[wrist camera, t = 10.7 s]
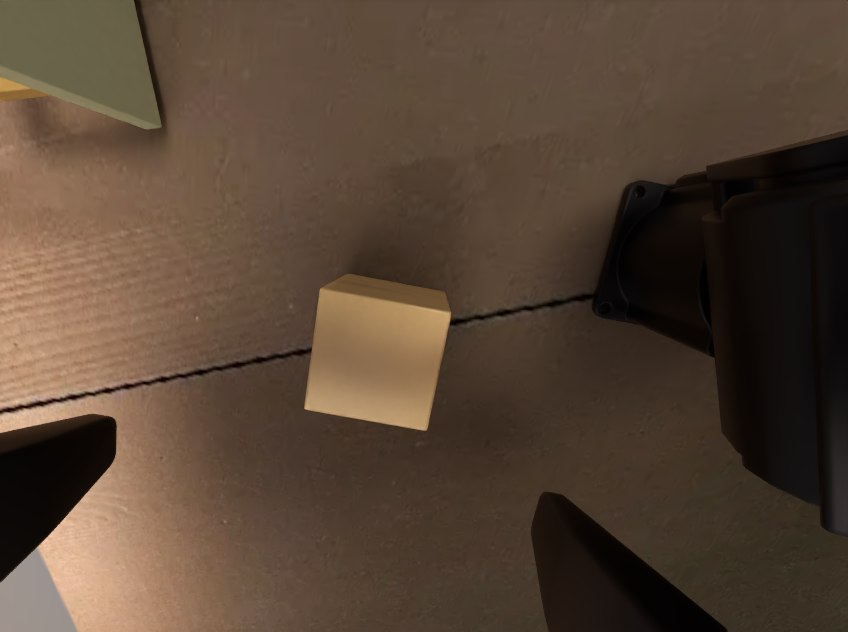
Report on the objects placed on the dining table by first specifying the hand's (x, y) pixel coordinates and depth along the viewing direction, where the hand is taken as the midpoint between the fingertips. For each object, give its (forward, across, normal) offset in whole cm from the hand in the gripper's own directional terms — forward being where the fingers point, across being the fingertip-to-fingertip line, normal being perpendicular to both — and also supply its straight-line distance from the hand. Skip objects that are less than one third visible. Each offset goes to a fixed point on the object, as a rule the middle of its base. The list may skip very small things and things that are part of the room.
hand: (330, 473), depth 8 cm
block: (+12, 0, 0) cm, 12 cm away
